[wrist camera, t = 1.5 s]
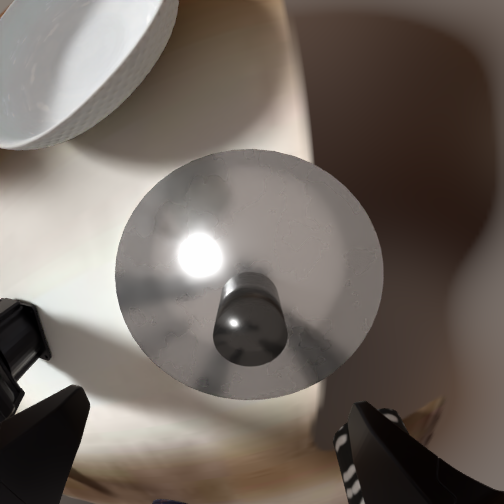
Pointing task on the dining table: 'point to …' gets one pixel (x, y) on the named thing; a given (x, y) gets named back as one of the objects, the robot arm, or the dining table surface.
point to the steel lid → (249, 274)
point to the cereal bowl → (74, 63)
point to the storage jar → (166, 502)
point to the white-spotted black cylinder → (346, 458)
